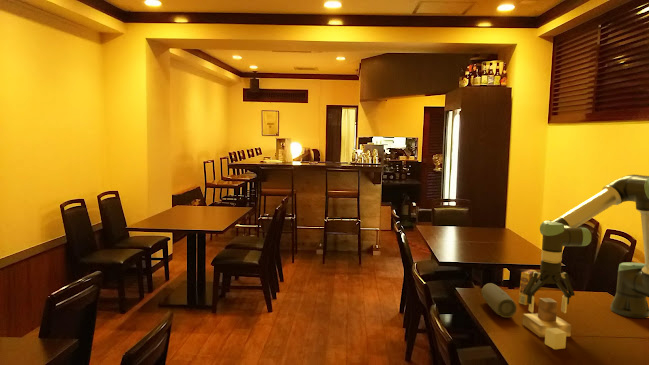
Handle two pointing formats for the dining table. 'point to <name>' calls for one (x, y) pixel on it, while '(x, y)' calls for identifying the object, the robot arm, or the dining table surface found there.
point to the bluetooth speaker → (498, 300)
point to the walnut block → (547, 309)
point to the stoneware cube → (555, 338)
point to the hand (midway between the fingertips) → (547, 311)
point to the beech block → (544, 324)
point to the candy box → (524, 285)
